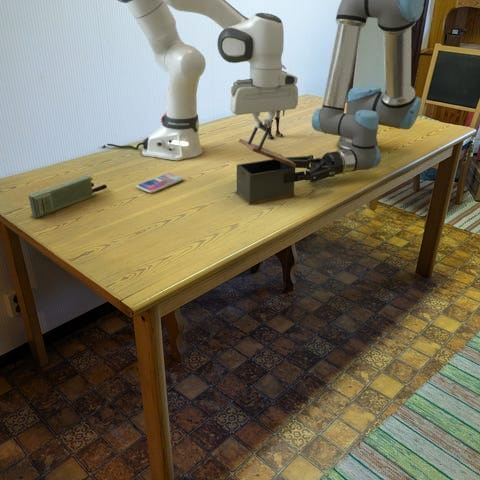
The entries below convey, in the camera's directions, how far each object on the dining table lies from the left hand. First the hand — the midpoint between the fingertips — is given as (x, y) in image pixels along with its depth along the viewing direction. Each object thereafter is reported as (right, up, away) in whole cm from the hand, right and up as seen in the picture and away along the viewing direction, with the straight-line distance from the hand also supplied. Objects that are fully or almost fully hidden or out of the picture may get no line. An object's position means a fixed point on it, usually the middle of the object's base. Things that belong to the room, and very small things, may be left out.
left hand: (263, 126), depth 147 cm
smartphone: (-33, -15, +17) cm, 40 cm away
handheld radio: (-57, -22, +4) cm, 61 cm away
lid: (+1, -7, +5) cm, 9 cm away
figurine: (+7, +9, +62) cm, 63 cm away
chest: (+1, -19, +11) cm, 22 cm away
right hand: (+5, -12, +10) cm, 16 cm away
